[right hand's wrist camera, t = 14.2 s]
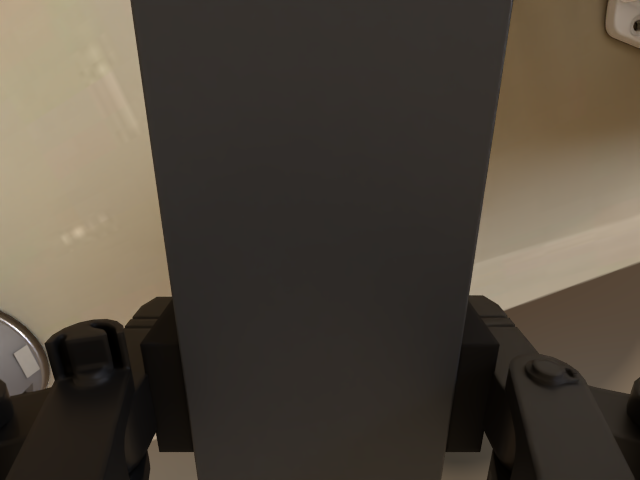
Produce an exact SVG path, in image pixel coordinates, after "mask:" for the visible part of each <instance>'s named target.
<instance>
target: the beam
mask: <svg viewBox="0 0 640 480" xmlns="http://www.w3.org/2000/svg"><path fill="white" fill-rule="evenodd" d="M512 5H513V0H131V7H132V14H133V22H134V29H135V36H136V43H137V50H138V57H139V64H140V71H141V78H142V86H143V93H144V100H145V107H146V114H147V121H148V128H149V135H150V142H151V150H152V157H153V164H154V171H155V178H156V185H157V192H158V199H159V206H160V214H161V221H162V228H163V235H164V242H165V249H166V256H167V263H168V270H169V278H170V285H171V292H172V299H173V306H174V313H175V320H176V327H177V334H178V342H179V349H180V356H181V363H182V370H183V377H184V384H185V391H186V398H187V406H188V413H189V420H190V427H191V434H192V441H193V448H194V455H195V462H196V469H197V477H198V480H441V476H442V470H443V464H444V457H445V450H446V444H447V437H448V430H449V424H450V417H451V411H452V404H453V397H454V391H455V384H456V377H457V371H458V364H459V357H460V351H461V344H462V337H463V331H464V324H465V317H466V311H467V304H468V297H469V291H470V284H471V278H472V271H473V264H474V258H475V251H476V244H477V238H478V231H479V224H480V218H481V211H482V204H483V198H484V191H485V184H486V178H487V171H488V165H489V158H490V151H491V145H492V138H493V131H494V125H495V118H496V111H497V105H498V98H499V91H500V85H501V78H502V71H503V65H504V58H505V51H506V45H507V38H508V32H509V25H510V18H511V12H512Z"/></svg>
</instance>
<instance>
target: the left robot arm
mask: <svg viewBox="0 0 640 480" xmlns="http://www.w3.org/2000/svg"><path fill="white" fill-rule="evenodd" d="M635 22H637V29H636V30H634V29H633V25H634V23H635ZM605 24H606V30H607V33H608V34H609V35H610V36H611V37H613V38H615V39H618V40H620V41H622V42H625V43H627V44H630V45H632V46H635V47H637V48H639V49H640V0H608V6H607V12H606V23H605Z"/></svg>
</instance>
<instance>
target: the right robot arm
mask: <svg viewBox="0 0 640 480" xmlns="http://www.w3.org/2000/svg"><path fill="white" fill-rule="evenodd" d="M45 347H46V350H47V354H48V358H49V361H50V365H51V368H52V372H53V375H54V379H55V381H54V383H53V385H52V387H51V388H47V389H46V387H47V384H48V380H49V364H48V360H47V357H46V355H45V352H44V350H43V348H42V347H41V345H40V343H39V342H38V341H37V339H36V338H35V337H34V336H33V334H32V333H31V332H30V331H29V330H28V329H27V328H26V327H24V326H23V325H22V324H21V323H19V322H18V321H17V320H15V319H14V318H12V317H11V316H9V315H7V314H5V313H3V312H1V311H0V480H149V474H150V463H149V456H148V451H147V449H148V447H149V445H150V443H151V441H152V439H153V437H154V435H155V433H156V436H157V441H158V446H159V452H194V448H193V441H192V434H191V427H190V420H189V413H188V406H187V398H186V391H185V384H184V377H183V370H182V363H181V356H180V349H179V342H178V334H177V327H176V320H175V313H174V306H173V299H172V297H156V298H154V299H153V300H151V301H149V302H148V303H146V304H144V305H143V306H141V308H140V309H139V310H138V311H137V312H136V314H135V315H134V316H133V319H131V320H130V321H129V322H128V323H127V324H126V326H125V329H124V328H123V325H121V324H120V323H119V322H117V321H114V320H109V319H97V320H89V321H85V322H80V323H77V324H74V325H71V326H69V327H66V328H64V329H62V330H61V331H59V332H57V333H55V334H54V335H52V336H51V337H50V338H49V339H48V340H47V341H46V342H45ZM484 431H485V433H486V436H487V438H488V440H489V442H490V444H491V446H492V448H493V451H492V456H491V461H490V466H489V471H488V477H487V480H640V378H638V379H637V380H636V381H635V382H634V385H633V387H632V390H631V394H626V393H621V392H616V391H611V390H606V389H601V388H596V387H592V386H589V385H587V383H586V381H585V379H584V378H583V377H582V376H581V374H580V373H579V372H578V371H577V370H576V369H574V368H573V367H571V366H570V365H568V364H567V363H565V362H563V361H560V360H558V359H556V358H553V357H550V356H546V355H542V354H539V353H538V352H537V351H536V349H535V348H534V347H533V346H532V345H531V343H530V342H529V341H528V340H527V339H526V337H525V336H524V335H523V334H522V333H521V331H520V330H519V329H518V328H517V327H515V324H514V323H513V322H512V321H511V320H510V318H507V315H506V314H505V312H504V311H503V310H502V309H501V308H500V306H499V305H498V304H496V303H494V302H493V301H491V300H490V299H488V298H486V297H485V296H469V297H468V304H467V311H466V317H465V324H464V331H463V337H462V344H461V351H460V357H459V364H458V371H457V377H456V384H455V391H454V397H453V404H452V411H451V417H450V424H449V430H448V437H447V444H446V450H445V452H480V450H481V445H482V439H483V434H484Z"/></svg>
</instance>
